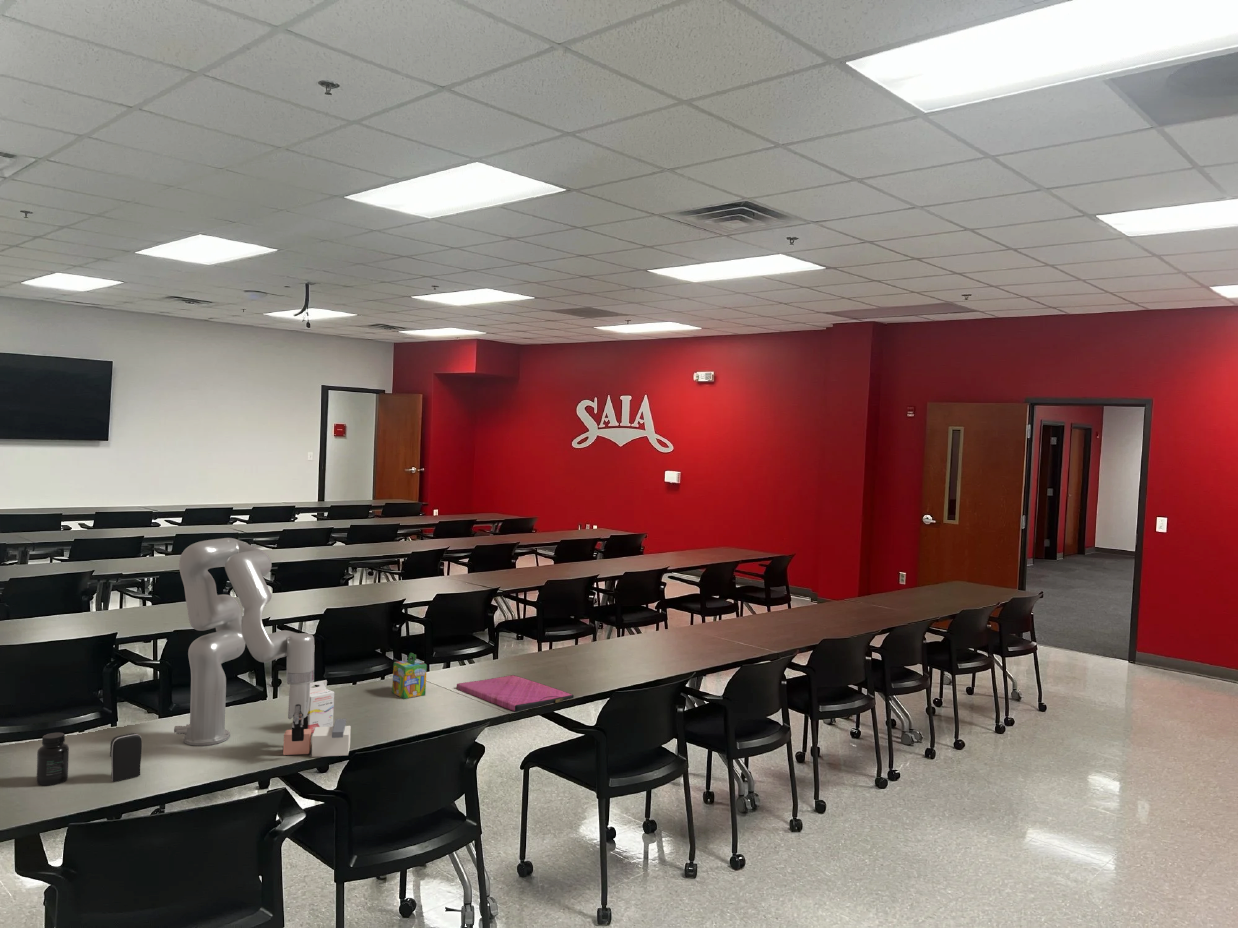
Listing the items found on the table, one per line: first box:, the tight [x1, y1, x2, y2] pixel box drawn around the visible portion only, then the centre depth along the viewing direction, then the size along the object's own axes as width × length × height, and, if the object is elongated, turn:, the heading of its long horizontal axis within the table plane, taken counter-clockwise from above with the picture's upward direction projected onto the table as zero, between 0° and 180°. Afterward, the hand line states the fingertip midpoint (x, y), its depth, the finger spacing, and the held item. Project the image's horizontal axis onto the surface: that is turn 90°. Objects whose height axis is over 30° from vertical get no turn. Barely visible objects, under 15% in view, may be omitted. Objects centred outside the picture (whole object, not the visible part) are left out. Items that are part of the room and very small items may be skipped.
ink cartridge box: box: [307, 679, 335, 734], centre depth 267 cm, size 9×5×15 cm, turn 141°
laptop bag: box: [456, 674, 574, 712], centre depth 313 cm, size 40×4×27 cm
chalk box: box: [391, 652, 428, 700], centre depth 307 cm, size 9×9×15 cm
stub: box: [282, 729, 312, 756], centre depth 247 cm, size 7×4×6 cm, turn 104°
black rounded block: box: [109, 732, 143, 782], centre depth 224 cm, size 7×4×11 cm, turn 137°
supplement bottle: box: [36, 732, 70, 787], centre depth 220 cm, size 7×7×12 cm
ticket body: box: [309, 718, 352, 758], centre depth 249 cm, size 11×12×8 cm
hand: (300, 735), depth 246 cm, fingers open, 9 cm apart
